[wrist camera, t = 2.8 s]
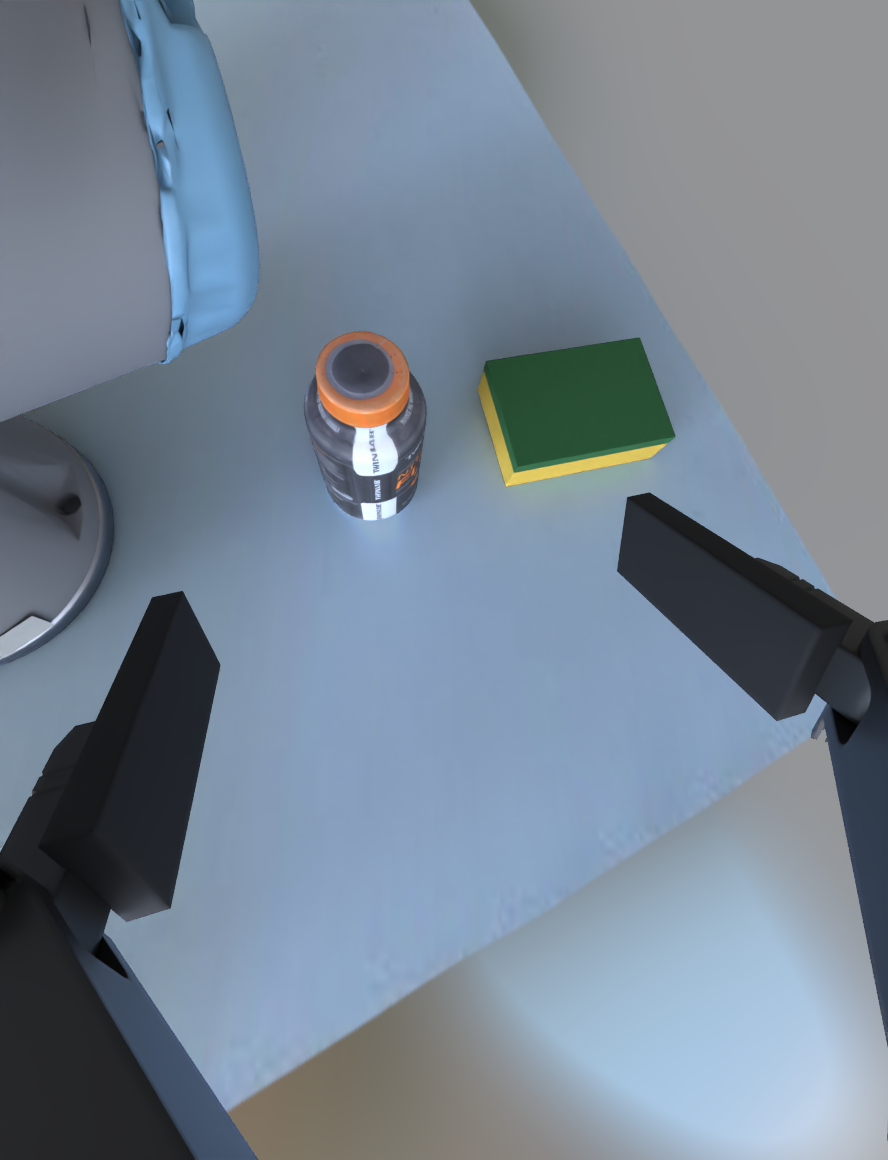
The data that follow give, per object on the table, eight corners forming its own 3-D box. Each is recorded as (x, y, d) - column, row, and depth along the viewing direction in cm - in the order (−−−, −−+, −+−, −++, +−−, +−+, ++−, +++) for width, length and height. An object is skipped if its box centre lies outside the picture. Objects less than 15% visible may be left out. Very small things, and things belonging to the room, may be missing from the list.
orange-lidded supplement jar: (411, 528, 30) (423, 444, 19) (319, 515, 30) (277, 422, 19) (422, 444, 32) (439, 321, 21) (333, 431, 31) (302, 297, 20)
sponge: (505, 487, 32) (517, 467, 29) (477, 389, 33) (485, 360, 30) (650, 458, 33) (676, 436, 30) (618, 366, 35) (640, 337, 32)
